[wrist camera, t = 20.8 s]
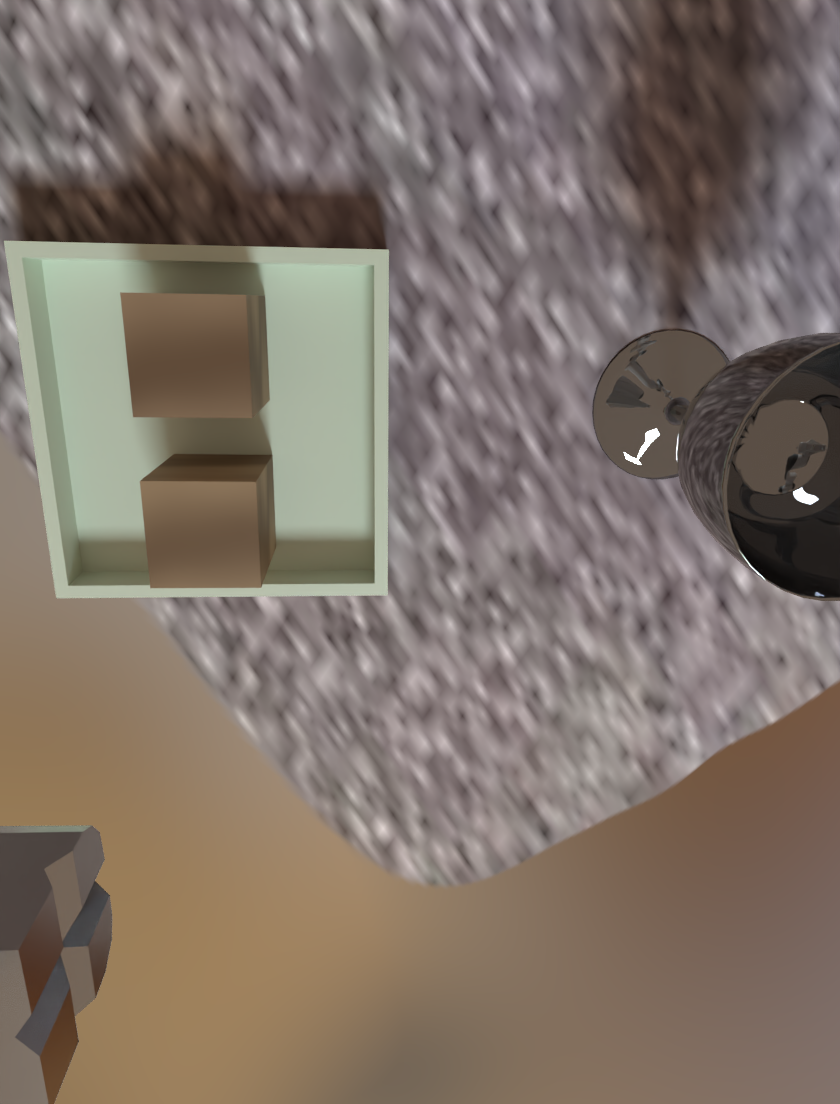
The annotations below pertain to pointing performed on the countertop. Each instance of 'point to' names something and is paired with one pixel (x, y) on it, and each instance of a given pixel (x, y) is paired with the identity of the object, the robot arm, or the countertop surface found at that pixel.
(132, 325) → the block
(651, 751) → the countertop surface
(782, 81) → the countertop surface
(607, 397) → the wine glass
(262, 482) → the block
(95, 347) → the tray
